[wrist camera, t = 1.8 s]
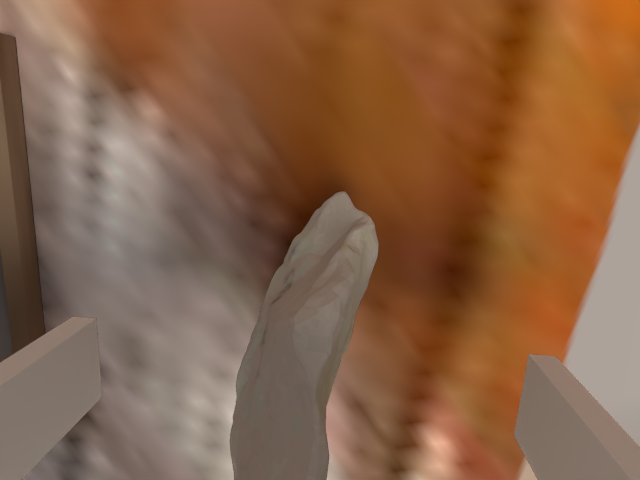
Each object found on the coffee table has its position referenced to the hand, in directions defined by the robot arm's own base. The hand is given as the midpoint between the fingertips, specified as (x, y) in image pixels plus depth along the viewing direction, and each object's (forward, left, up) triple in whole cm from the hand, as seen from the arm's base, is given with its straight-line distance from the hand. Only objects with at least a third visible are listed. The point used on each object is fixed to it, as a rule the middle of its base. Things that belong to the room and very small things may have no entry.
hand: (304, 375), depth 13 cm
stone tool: (0, 0, -10) cm, 10 cm away
